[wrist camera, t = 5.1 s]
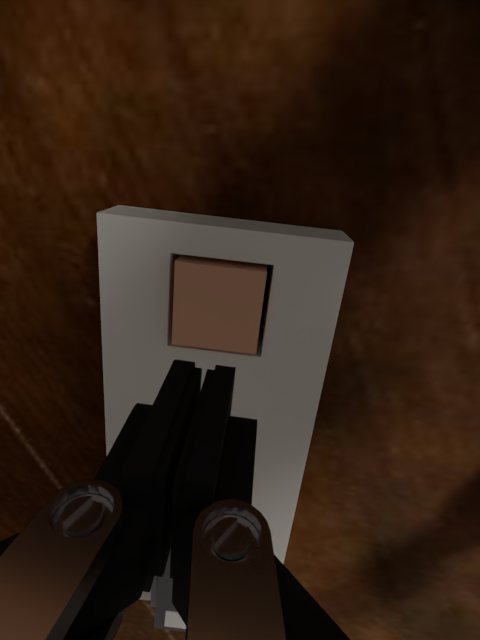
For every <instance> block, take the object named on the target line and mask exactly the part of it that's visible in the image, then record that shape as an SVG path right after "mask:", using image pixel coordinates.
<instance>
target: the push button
mask: <svg viewBox="0 0 480 640" xmlns="http://www.w3.org/2000/svg"><path fill="white" fill-rule="evenodd" d="M266 277H267V264H260V263H251V262H243V261H234V260H225V259H217V258H208V257H200V256H191V255H183V254H181V255H180V256H179V257H178V258H177V260H176V261H175V268H174V294H173V321H172V344H174V345H182V346H191V347H199V348H207V349H216V350H224V351H232V352H241V353H249V354H256V351H257V343H258V336H259V329H260V321H261V314H262V306H263V299H264V292H265V284H266Z"/></svg>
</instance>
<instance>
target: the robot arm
mask: <svg viewBox="0 0 480 640" xmlns="http://www.w3.org/2000/svg"><path fill="white" fill-rule="evenodd" d="M235 371H236V367H229V366H221V365H216V366H215V370H211V369H207V372H206V375H205V378H204V382H203V385H202V388H201V377H202V368H196V367H195V362H191V361H184V360H176V359H175V360H174V361H173V363H172V365H171V367H170V369H169V371H168V374H167V376H166V378H165V380H164V382H163V384H162V386H161V388H160V390H159V393H158V395H157V397H156V399H155V401H154V403H153V405H149V404H141V403H137V404H135V406H134V407H133V409H132V411H131V413H130V414H129V416H128V418H127V420H126V422H125V424H124V425H123V427H122V429H121V431H120V433H119V435H118V437H117V438H116V440H115V442H114V444H113V446H112V448H111V449H110V451H109V453H108V455H107V457H106V459H105V461H104V462H103V464H102V466H101V468H100V470H99V472H98V473H97V475H96V477H95V479H87V480H80V481H77V482H74V483H71V484H68V485H66V486H65V487H63V488H61V489H60V490H58V491H57V492H56V493H55V494H53V495H52V496H51V497H50V498H49V499H48V500H47V501H46V503H45V504H44V505H43V506H42V507H41V509H40V510H39V511H38V512H37V513H36V515H35V516H34V517H33V518H32V519H31V521H30V522H29V523H28V524H27V525H26V527H25V528H24V529H23V530H22V531H21V532H19V533H17V534H15V535H13V536H11V537H9V538H7V539H5V540H3V541H1V542H0V640H114V638H115V636H116V633H117V631H118V629H119V627H120V625H121V623H122V620H123V617H124V614H125V611H126V608H127V607H128V606H130V605H131V604H132V603H134V602H135V601H137V600H138V599H140V598H141V596H142V592H143V591H144V592H150V590H151V587H152V583H153V580H154V576H158V577H163V575H164V572H165V568H166V564H167V561H168V557H169V553H170V549H171V556H170V578H171V579H173V587H172V604H173V605H174V607H175V609H176V610H177V612H178V613H179V615H180V617H181V618H182V620H183V622H184V623H185V625H186V636H185V640H350V639H349V638H348V637H347V636H346V634H345V633H344V632H343V631H342V630H341V629H340V628H339V627H338V625H337V624H336V623H335V622H334V621H333V620H332V619H331V618H330V616H329V615H328V614H327V613H326V612H325V611H324V610H323V609H322V607H321V606H320V605H319V604H318V603H317V602H316V601H315V600H314V598H313V597H312V596H311V595H310V594H309V593H308V592H307V591H306V589H305V588H304V587H303V586H302V585H301V584H300V583H299V582H298V580H297V579H296V578H295V577H294V576H293V575H292V574H291V573H290V571H289V570H288V569H287V568H286V567H285V566H284V565H283V564H282V562H281V561H280V560H279V559H278V558H277V557H276V556H275V555H274V551H273V544H272V537H271V531H270V528H269V525H268V522H267V520H266V519H265V517H264V516H263V515H262V513H261V512H260V511H259V510H257V509H256V508H255V507H254V506H252V492H253V478H254V464H255V450H256V436H257V419H250V418H243V417H235V416H230V415H231V406H232V397H233V389H234V380H235Z"/></svg>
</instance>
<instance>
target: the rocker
mask: <svg viewBox="0 0 480 640" xmlns="http://www.w3.org/2000/svg"><path fill="white" fill-rule="evenodd" d="M170 556H171V549H170V553H169V557H168V561H167V564H166V568H165V572H164V575H163V577H158V584H157V596H156V608H155V620H154V628H160V629H168V630H175V631H183V632H186V625H185V623H184V622H183V620H182V618H181V617H180V615H179V613H178V612H177V610H176V609H175V607H174V605H173V604H172V587H173V579H171V578H170Z"/></svg>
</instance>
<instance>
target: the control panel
mask: <svg viewBox="0 0 480 640" xmlns="http://www.w3.org/2000/svg"><path fill="white" fill-rule="evenodd" d="M97 235H98V260H99V284H100V309H101V333H102V357H103V382H104V406H105V431H106V455H108V453H109V451H110V449H111V448H112V446H113V444H114V442H115V440H116V438H117V437H118V435H119V433H120V431H121V429H122V427H123V425H124V424H125V422H126V420H127V418H128V416H129V414H130V413H131V411H132V409H133V407H134V406H135V404H137V403H141V404H149V405H153V403H154V401H155V399H156V397H157V395H158V393H159V390H160V388H161V386H162V384H163V382H164V380H165V378H166V376H167V374H168V371H169V369H170V367H171V365H172V363H173V361H174V360H175V359H176V360H184V361H191V362H195V367H196V368H202V377H201V388H202V385H203V382H204V378H205V375H206V372H207V369H211V370H215V366H216V365H221V366H229V367H236V371H235V380H234V389H233V397H232V406H231V415H230V416H235V417H243V418H250V419H257V436H256V450H255V464H254V478H253V492H252V506H254V507H255V508H256V509H257V510H259V511H260V512H261V513H262V515H263V516H264V517H265V519H266V520H267V522H268V525H269V528H270V531H271V537H272V544H273V551H274V555H275V556H276V557H277V558H278V559H279V560H280V561H281V562H282V564H284V559H285V555H286V550H287V545H288V541H289V536H290V532H291V527H292V523H293V518H294V514H295V509H296V505H297V500H298V496H299V491H300V486H301V482H302V477H303V473H304V468H305V464H306V459H307V455H308V450H309V446H310V441H311V437H312V432H313V427H314V423H315V418H316V414H317V409H318V405H319V400H320V396H321V391H322V387H323V382H324V378H325V373H326V368H327V364H328V359H329V355H330V350H331V346H332V341H333V337H334V332H335V328H336V323H337V319H338V314H339V309H340V305H341V300H342V296H343V291H344V287H345V282H346V278H347V273H348V269H349V264H350V260H351V255H352V250H353V246H354V242H353V241H352V240H351V239H350V238H349V237H348V236H347V235H346V234H345V233H344V232H343V231H340V230H331V229H323V228H314V227H305V226H297V225H288V224H279V223H271V222H262V221H253V220H245V219H236V218H227V217H219V216H210V215H201V214H192V213H184V212H175V211H166V210H158V209H149V208H140V207H132V206H123V205H117V206H115V207H112V208H109V209H106V210H103V211H100V212H97ZM181 254H183V255H191V256H200V257H208V258H217V259H225V260H234V261H243V262H251V263H260V264H268V265H271V269H270V276H269V283H268V290H267V297H266V305H265V312H264V319H263V326H262V333H259V336H258V343H257V351H256V354H249V353H241V352H232V351H224V350H216V349H207V348H199V347H191V346H182V345H174V344H172V321H173V294H174V268H175V261H176V260H177V258H178V257H179V256H180V255H181ZM157 584H158V576H154V580H153V583H152V587H151V590H150V592H144V591H143V592H142V596H141V598H140V599H142V600H150V601H151V607H156V596H157Z"/></svg>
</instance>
